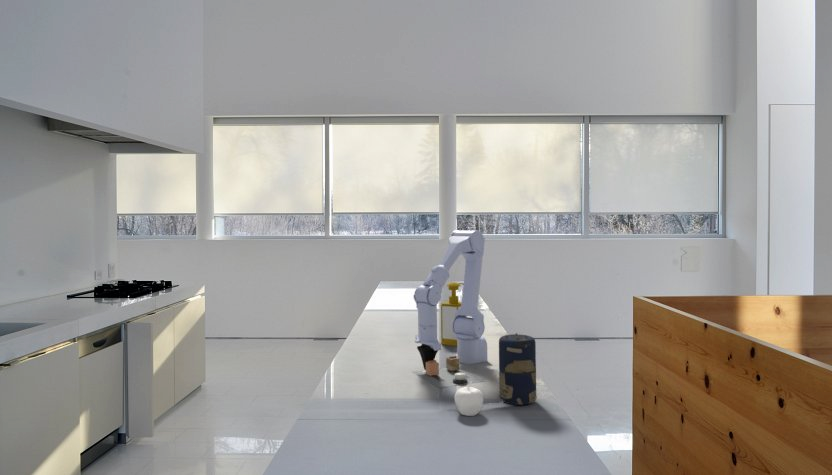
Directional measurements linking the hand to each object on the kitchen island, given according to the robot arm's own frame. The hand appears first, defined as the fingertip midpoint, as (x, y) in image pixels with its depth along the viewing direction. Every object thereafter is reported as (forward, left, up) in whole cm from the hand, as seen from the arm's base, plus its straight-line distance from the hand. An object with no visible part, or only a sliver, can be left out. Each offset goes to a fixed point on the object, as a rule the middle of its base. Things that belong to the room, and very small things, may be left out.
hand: (428, 369), depth 179 cm
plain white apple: (+5, +35, -2) cm, 36 cm away
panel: (-4, +6, -2) cm, 8 cm away
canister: (-11, +32, -2) cm, 34 cm away
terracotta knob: (0, +3, -1) cm, 3 cm away
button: (-4, +13, -1) cm, 14 cm away
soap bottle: (-31, -41, -2) cm, 51 cm away
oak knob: (-8, +1, -1) cm, 8 cm away
